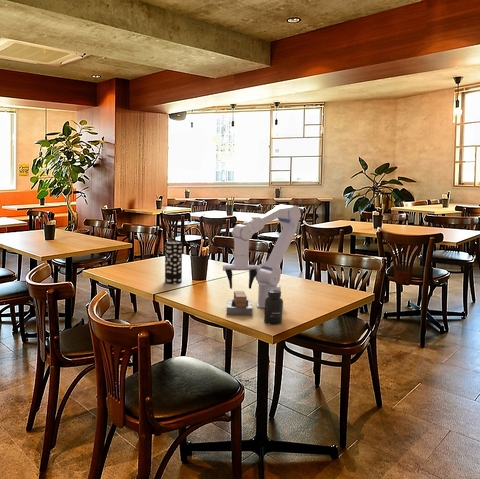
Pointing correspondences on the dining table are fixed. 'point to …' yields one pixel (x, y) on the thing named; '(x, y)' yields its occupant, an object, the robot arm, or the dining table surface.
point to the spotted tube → (173, 262)
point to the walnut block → (240, 299)
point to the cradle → (239, 308)
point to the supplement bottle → (273, 308)
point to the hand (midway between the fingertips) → (240, 288)
